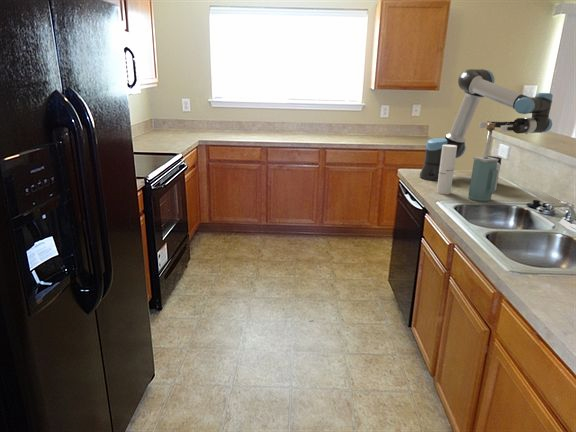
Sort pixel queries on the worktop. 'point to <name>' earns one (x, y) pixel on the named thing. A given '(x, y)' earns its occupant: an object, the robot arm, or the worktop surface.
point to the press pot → (483, 179)
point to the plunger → (489, 138)
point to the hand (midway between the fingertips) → (490, 126)
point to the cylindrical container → (446, 169)
